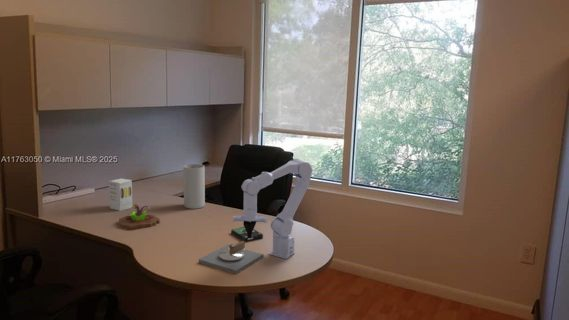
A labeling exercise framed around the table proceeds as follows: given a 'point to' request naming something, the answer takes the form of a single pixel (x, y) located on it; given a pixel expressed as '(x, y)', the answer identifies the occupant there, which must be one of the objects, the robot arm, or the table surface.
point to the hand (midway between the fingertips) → (249, 237)
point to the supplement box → (120, 194)
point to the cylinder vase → (194, 186)
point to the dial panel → (233, 266)
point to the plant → (138, 219)
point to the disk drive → (243, 235)
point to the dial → (233, 252)
